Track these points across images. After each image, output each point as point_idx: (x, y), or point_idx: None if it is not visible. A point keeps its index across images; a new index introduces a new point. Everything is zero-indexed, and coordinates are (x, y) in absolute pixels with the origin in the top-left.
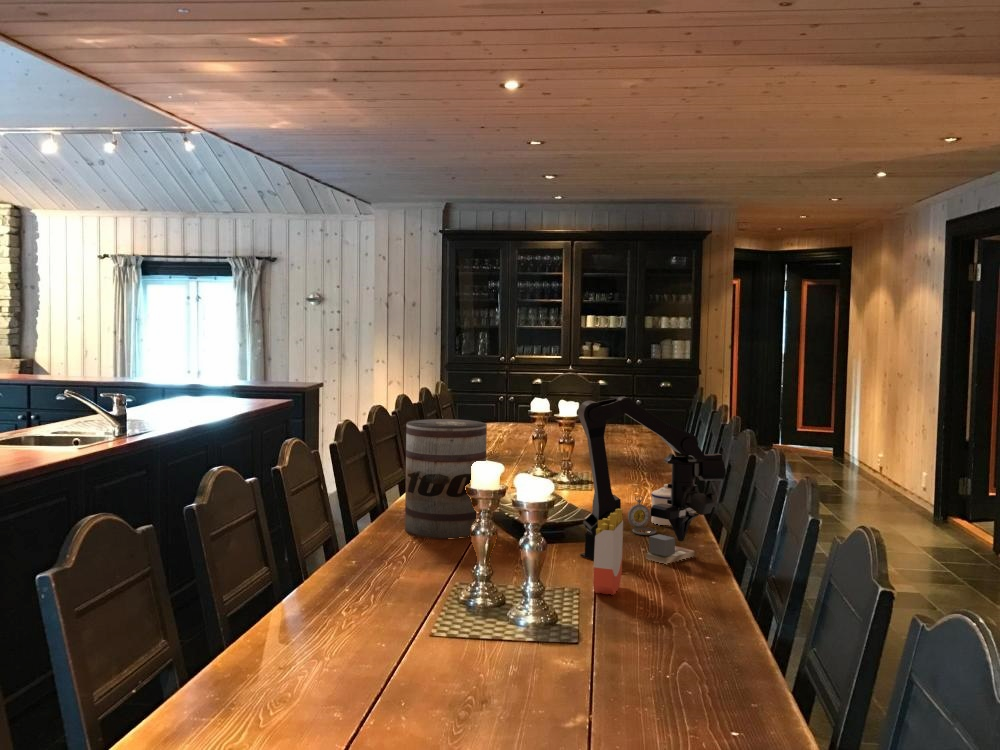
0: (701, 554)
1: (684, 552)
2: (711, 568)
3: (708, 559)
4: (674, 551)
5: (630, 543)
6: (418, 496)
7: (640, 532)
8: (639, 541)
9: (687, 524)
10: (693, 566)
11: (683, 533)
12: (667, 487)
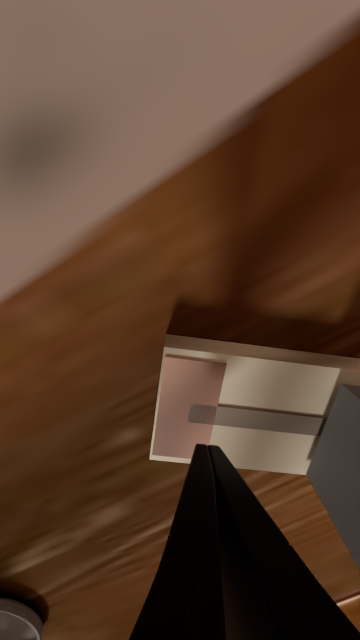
0: (88, 332)
1: (236, 371)
2: (333, 131)
3: (151, 253)
4: (355, 392)
5: None
6: None
7: (36, 628)
8: (117, 580)
9: (206, 609)
10: (351, 244)
11: (230, 495)
12: None
